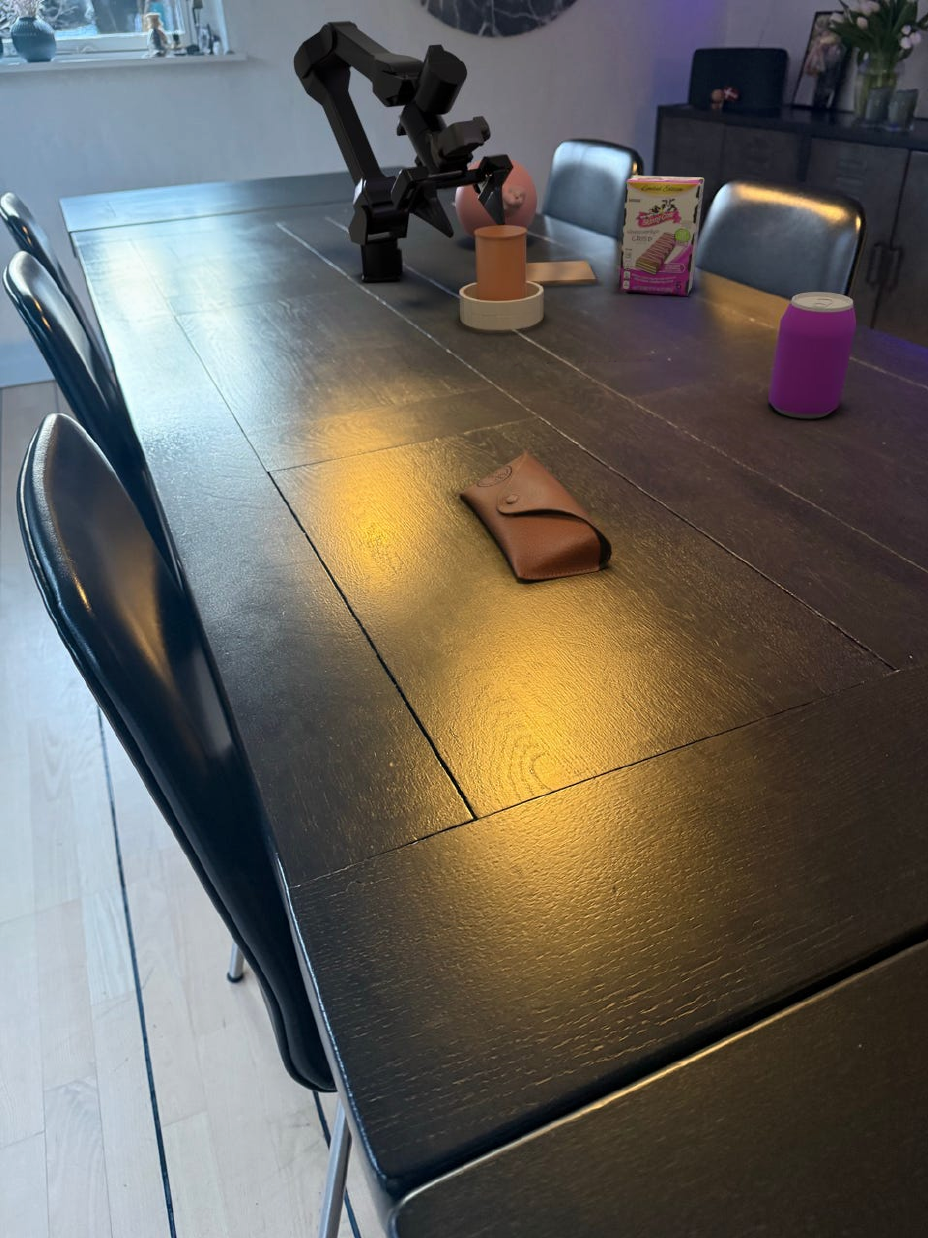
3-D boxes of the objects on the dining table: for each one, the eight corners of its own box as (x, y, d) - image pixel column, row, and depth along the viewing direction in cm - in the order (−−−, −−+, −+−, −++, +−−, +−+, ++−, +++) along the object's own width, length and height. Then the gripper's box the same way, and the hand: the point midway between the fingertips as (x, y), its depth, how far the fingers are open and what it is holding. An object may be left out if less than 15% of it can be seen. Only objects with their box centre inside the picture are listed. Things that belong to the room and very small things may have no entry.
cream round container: (460, 335, 128) (459, 303, 125) (460, 310, 138) (459, 280, 135) (545, 332, 128) (546, 300, 125) (540, 307, 138) (540, 277, 135)
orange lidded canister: (477, 325, 130) (474, 237, 123) (476, 310, 136) (474, 226, 129) (528, 323, 129) (528, 235, 123) (525, 308, 136) (525, 224, 129)
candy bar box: (617, 293, 143) (624, 180, 133) (623, 285, 146) (630, 174, 137) (689, 297, 139) (701, 181, 130) (693, 288, 143) (705, 175, 134)
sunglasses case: (451, 489, 87) (483, 428, 85) (510, 511, 91) (542, 453, 88) (519, 583, 73) (559, 513, 70) (585, 604, 76) (626, 538, 74)
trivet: (522, 287, 148) (522, 281, 147) (518, 269, 157) (519, 263, 157) (595, 284, 147) (595, 278, 147) (587, 266, 157) (587, 260, 157)
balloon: (468, 262, 162) (465, 169, 154) (451, 239, 179) (447, 153, 170) (550, 256, 164) (552, 163, 155) (526, 233, 180) (526, 148, 172)
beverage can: (828, 425, 97) (851, 314, 91) (758, 413, 101) (775, 305, 94) (845, 402, 103) (868, 294, 96) (778, 391, 106) (795, 286, 99)
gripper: (394, 102, 120) (445, 202, 118) (505, 90, 128) (553, 183, 127) (370, 161, 130) (417, 254, 128) (474, 147, 138) (519, 234, 137)
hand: (478, 230), depth 130 cm, fingers open, 9 cm apart
